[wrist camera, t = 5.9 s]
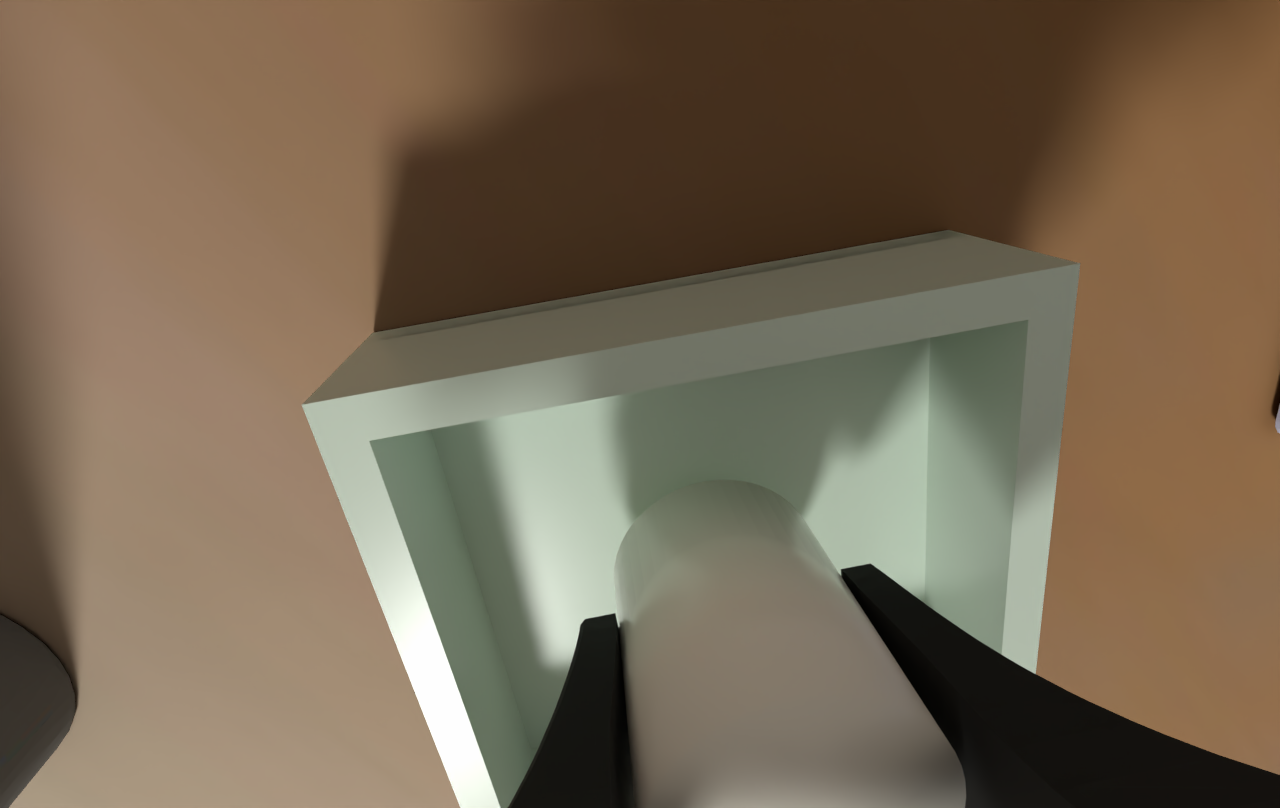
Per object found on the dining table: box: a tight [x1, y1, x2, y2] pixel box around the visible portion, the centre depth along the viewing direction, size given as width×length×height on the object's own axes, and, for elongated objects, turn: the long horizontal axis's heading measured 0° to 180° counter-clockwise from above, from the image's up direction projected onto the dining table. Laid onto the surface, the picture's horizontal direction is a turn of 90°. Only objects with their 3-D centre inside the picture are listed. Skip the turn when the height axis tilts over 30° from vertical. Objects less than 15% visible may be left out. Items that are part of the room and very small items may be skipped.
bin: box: [302, 230, 1080, 808], centre depth 15 cm, size 13×13×4 cm
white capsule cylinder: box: [614, 480, 966, 808], centre depth 12 cm, size 4×4×6 cm
